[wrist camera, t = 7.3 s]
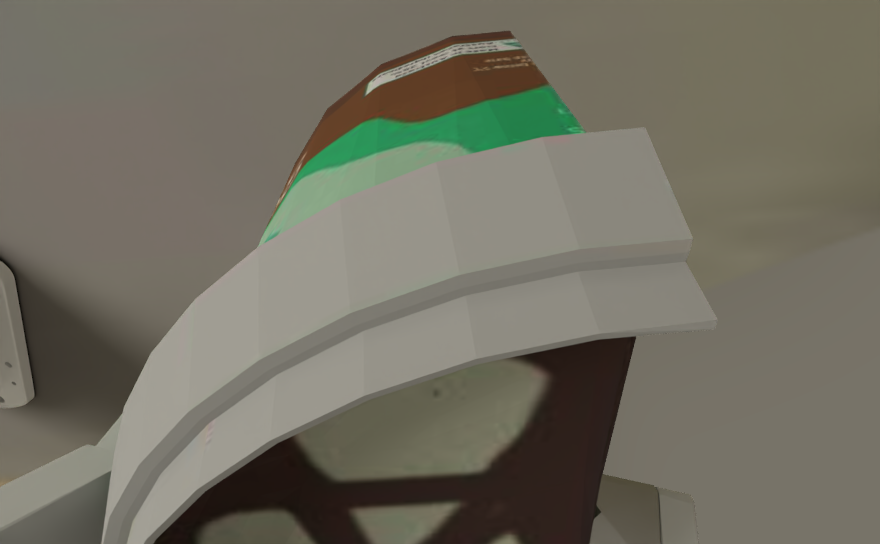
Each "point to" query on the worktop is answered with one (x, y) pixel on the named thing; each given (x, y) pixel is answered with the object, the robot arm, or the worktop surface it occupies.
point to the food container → (416, 326)
